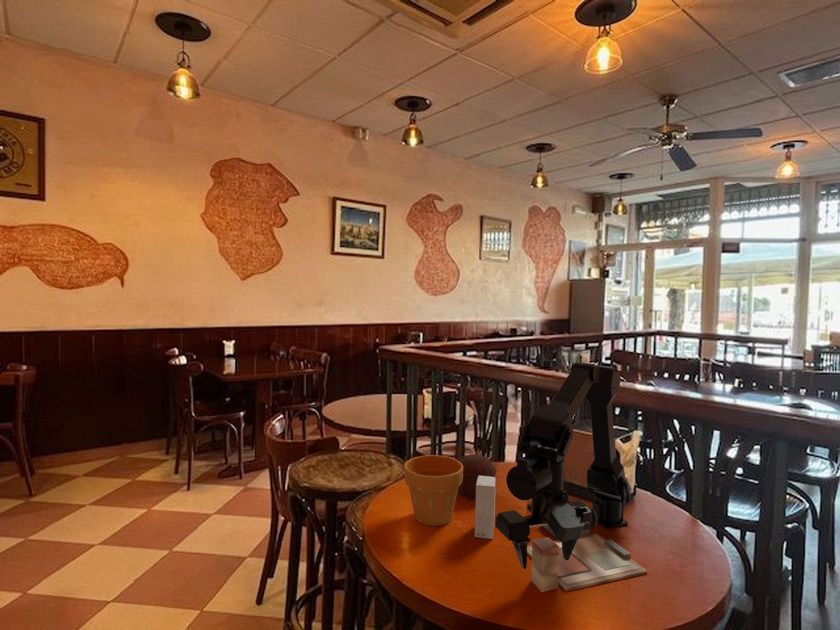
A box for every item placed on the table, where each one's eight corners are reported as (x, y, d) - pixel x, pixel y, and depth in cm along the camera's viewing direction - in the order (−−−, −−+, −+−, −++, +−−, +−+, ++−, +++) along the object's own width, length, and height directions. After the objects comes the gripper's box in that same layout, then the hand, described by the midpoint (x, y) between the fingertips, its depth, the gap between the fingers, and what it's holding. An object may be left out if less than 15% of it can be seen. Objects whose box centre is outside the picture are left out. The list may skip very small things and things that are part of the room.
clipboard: (596, 535, 108) (596, 529, 108) (647, 573, 94) (647, 565, 93) (522, 549, 102) (522, 542, 102) (565, 591, 87) (565, 583, 87)
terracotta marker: (547, 577, 92) (548, 537, 91) (558, 588, 88) (559, 546, 88) (530, 580, 91) (531, 540, 90) (541, 592, 87) (542, 549, 87)
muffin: (498, 502, 124) (499, 465, 123) (456, 501, 124) (456, 464, 124) (492, 484, 136) (493, 449, 135) (453, 483, 136) (454, 449, 135)
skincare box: (493, 539, 105) (494, 487, 105) (474, 537, 106) (475, 485, 106) (494, 526, 111) (496, 476, 111) (476, 524, 112) (477, 474, 112)
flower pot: (394, 525, 111) (395, 471, 110) (415, 500, 124) (416, 451, 124) (452, 537, 106) (453, 480, 106) (468, 510, 120) (469, 459, 119)
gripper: (526, 508, 78) (524, 600, 79) (619, 493, 84) (616, 579, 85) (494, 481, 88) (493, 563, 89) (579, 470, 94) (576, 547, 95)
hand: (545, 563), depth 89 cm, fingers open, 9 cm apart
